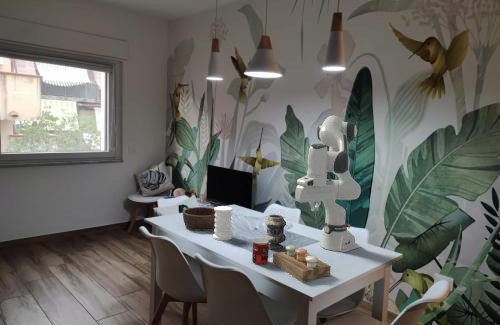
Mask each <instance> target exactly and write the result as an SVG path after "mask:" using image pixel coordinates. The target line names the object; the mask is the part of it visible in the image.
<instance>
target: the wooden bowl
mask: <svg viewBox="0 0 500 325" xmlns="http://www.w3.org/2000/svg"><path fill="white" fill-rule="evenodd" d="M214 208H215V207H208V206H207V207H205V206H197V207H196V206H195V207H189V208H185V209H184V210H182V217H183V223H184V225H185V227H186V228H188V229H190V230H194V231H209V230H213V229H215V226H214V225H215V211H214Z"/></svg>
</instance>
